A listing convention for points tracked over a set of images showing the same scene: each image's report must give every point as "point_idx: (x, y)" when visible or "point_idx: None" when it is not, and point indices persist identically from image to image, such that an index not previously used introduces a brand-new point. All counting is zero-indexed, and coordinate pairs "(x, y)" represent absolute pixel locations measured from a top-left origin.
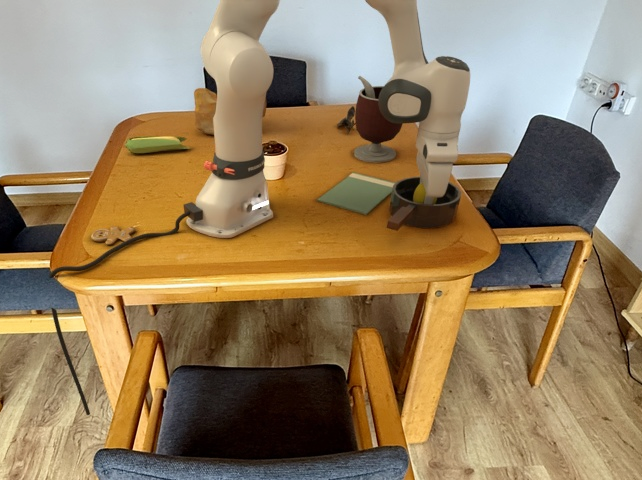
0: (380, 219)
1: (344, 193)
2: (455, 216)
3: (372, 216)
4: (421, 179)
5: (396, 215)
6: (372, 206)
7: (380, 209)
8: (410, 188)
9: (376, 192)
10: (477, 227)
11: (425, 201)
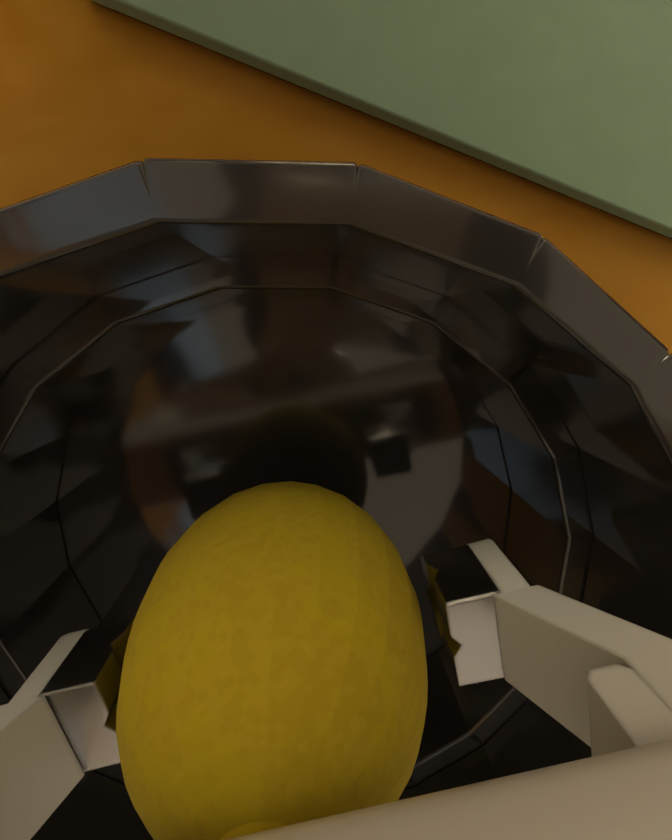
0: (58, 179)
1: None
2: None
3: (88, 80)
4: (562, 641)
5: None
6: (267, 37)
7: (272, 152)
8: (569, 425)
9: (619, 44)
10: None
11: (34, 683)
